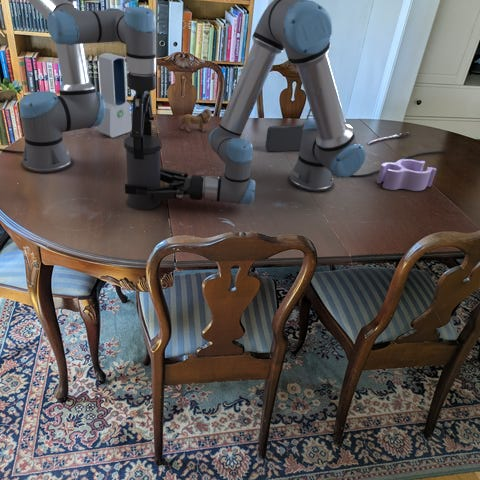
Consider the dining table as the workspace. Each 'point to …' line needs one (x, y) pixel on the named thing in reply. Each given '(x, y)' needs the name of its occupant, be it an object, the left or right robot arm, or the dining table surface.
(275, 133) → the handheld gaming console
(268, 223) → the dining table surface
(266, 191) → the dining table surface
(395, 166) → the clip
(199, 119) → the lion figurine
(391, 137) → the sword
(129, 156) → the jar
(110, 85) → the electronic device
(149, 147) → the lid
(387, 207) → the dining table surface
